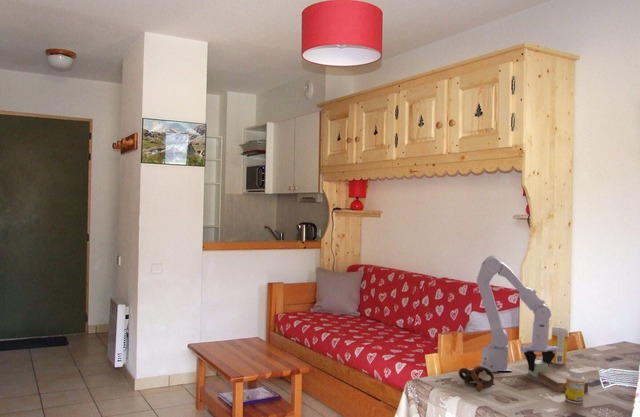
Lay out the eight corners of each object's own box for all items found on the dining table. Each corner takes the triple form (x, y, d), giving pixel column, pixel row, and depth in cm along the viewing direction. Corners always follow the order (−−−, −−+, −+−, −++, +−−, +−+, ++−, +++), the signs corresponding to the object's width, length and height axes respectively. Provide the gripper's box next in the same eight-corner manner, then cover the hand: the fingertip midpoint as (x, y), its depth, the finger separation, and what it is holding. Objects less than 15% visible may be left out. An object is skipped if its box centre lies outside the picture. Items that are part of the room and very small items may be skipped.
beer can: (562, 361, 233) (565, 326, 233) (567, 365, 227) (570, 329, 227) (548, 360, 234) (550, 324, 233) (552, 364, 228) (555, 328, 227)
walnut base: (557, 391, 194) (558, 383, 193) (537, 380, 205) (538, 372, 205) (587, 391, 196) (588, 382, 196) (566, 379, 208) (566, 371, 208)
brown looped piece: (488, 384, 198) (496, 369, 194) (487, 404, 190) (495, 388, 186) (455, 372, 200) (463, 356, 196) (453, 391, 192) (460, 375, 188)
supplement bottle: (567, 396, 189) (569, 367, 188) (585, 401, 185) (587, 371, 185) (562, 400, 184) (564, 370, 184) (580, 405, 181) (582, 374, 181)
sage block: (535, 377, 209) (536, 364, 209) (528, 373, 214) (529, 360, 214) (547, 377, 210) (548, 364, 210) (539, 372, 215) (540, 360, 215)
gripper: (529, 337, 206) (526, 374, 207) (563, 338, 209) (561, 373, 209) (518, 333, 213) (516, 368, 213) (552, 333, 216) (550, 367, 216)
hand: (538, 370), depth 212 cm, fingers open, 5 cm apart
